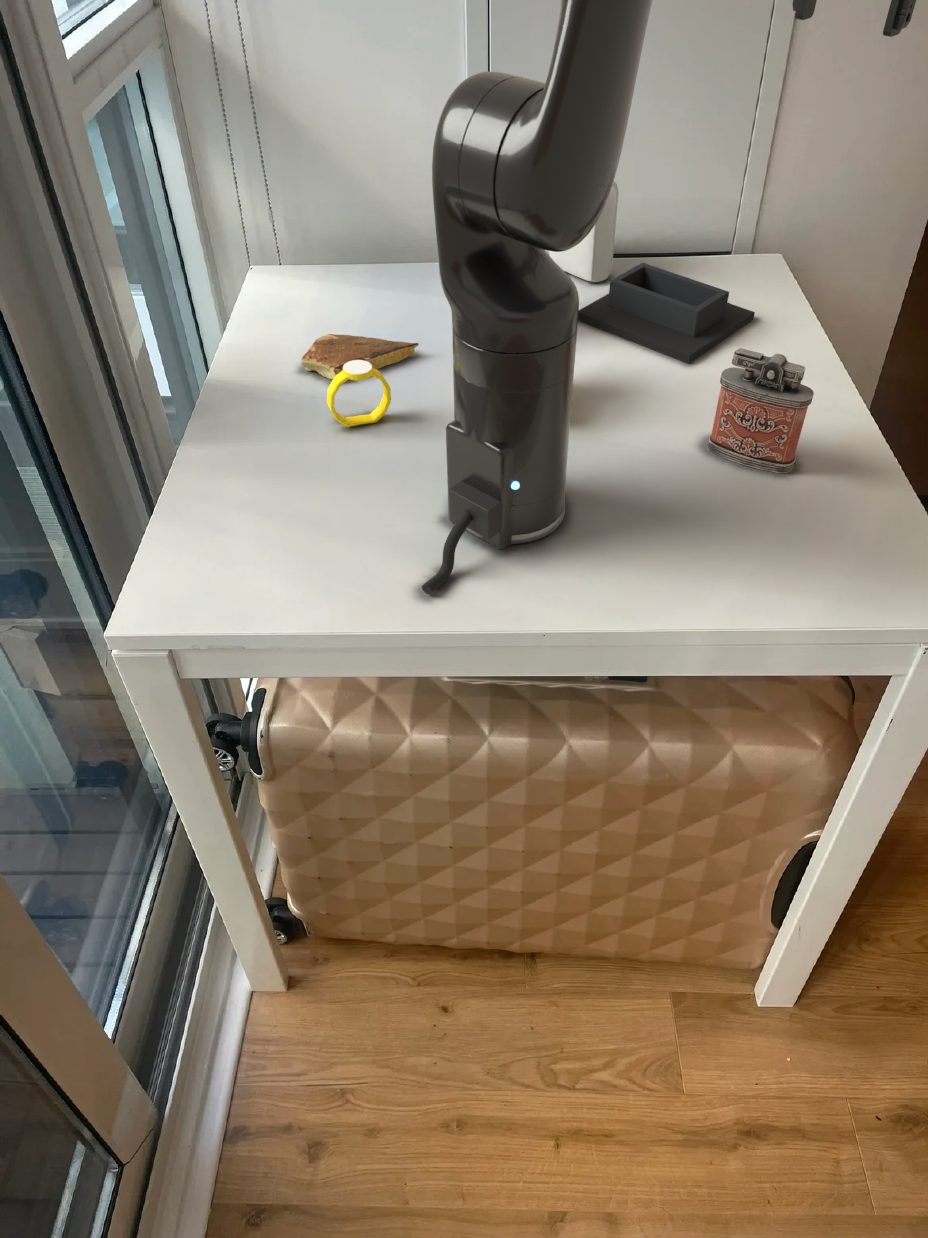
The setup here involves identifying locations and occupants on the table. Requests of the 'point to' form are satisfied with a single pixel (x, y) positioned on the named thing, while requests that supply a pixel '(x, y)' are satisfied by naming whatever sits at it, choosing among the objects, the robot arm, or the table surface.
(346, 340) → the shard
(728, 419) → the lighter
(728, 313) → the dock pad
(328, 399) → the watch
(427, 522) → the table surface
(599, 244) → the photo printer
